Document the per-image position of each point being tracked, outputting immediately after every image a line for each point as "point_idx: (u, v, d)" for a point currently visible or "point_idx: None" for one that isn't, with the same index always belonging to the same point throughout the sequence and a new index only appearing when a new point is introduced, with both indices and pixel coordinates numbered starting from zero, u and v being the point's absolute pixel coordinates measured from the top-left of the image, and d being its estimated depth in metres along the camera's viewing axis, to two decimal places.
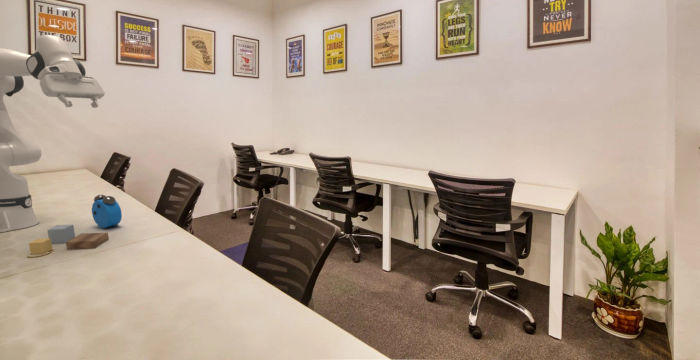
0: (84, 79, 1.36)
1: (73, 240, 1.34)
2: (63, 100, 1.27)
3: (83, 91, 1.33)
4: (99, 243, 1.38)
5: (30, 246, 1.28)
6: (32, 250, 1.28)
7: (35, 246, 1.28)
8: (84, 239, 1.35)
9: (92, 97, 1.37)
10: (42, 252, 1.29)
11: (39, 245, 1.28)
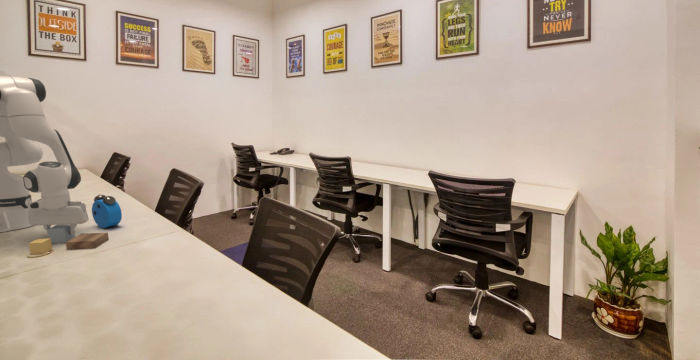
0: (66, 209, 1.39)
1: (73, 240, 1.34)
2: None
3: (61, 222, 1.40)
4: (99, 243, 1.38)
5: (30, 246, 1.28)
6: (32, 250, 1.28)
7: (35, 246, 1.28)
8: (84, 239, 1.35)
9: None
10: (42, 252, 1.29)
11: (39, 245, 1.28)
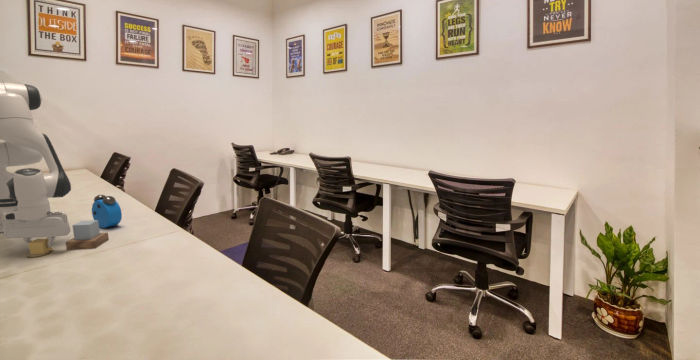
0: (45, 220, 1.28)
1: (73, 240, 1.34)
2: None
3: (40, 234, 1.28)
4: (99, 243, 1.38)
5: (30, 246, 1.28)
6: (32, 249, 1.28)
7: (34, 246, 1.28)
8: None
9: None
10: (42, 252, 1.29)
11: (39, 245, 1.28)
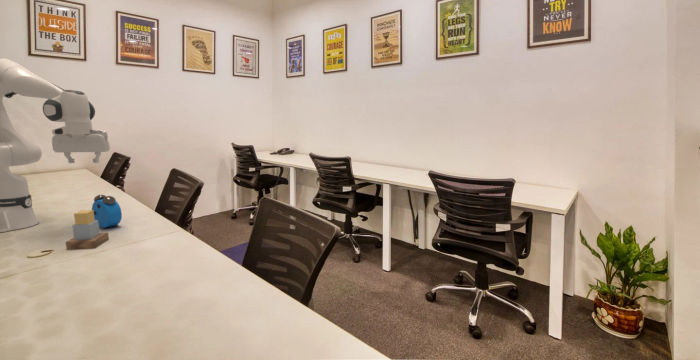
0: (89, 136, 1.44)
1: (73, 240, 1.34)
2: None
3: (84, 149, 1.44)
4: (99, 243, 1.38)
5: (75, 216, 1.34)
6: (77, 220, 1.34)
7: (79, 217, 1.34)
8: None
9: None
10: (86, 222, 1.35)
11: (84, 216, 1.34)
